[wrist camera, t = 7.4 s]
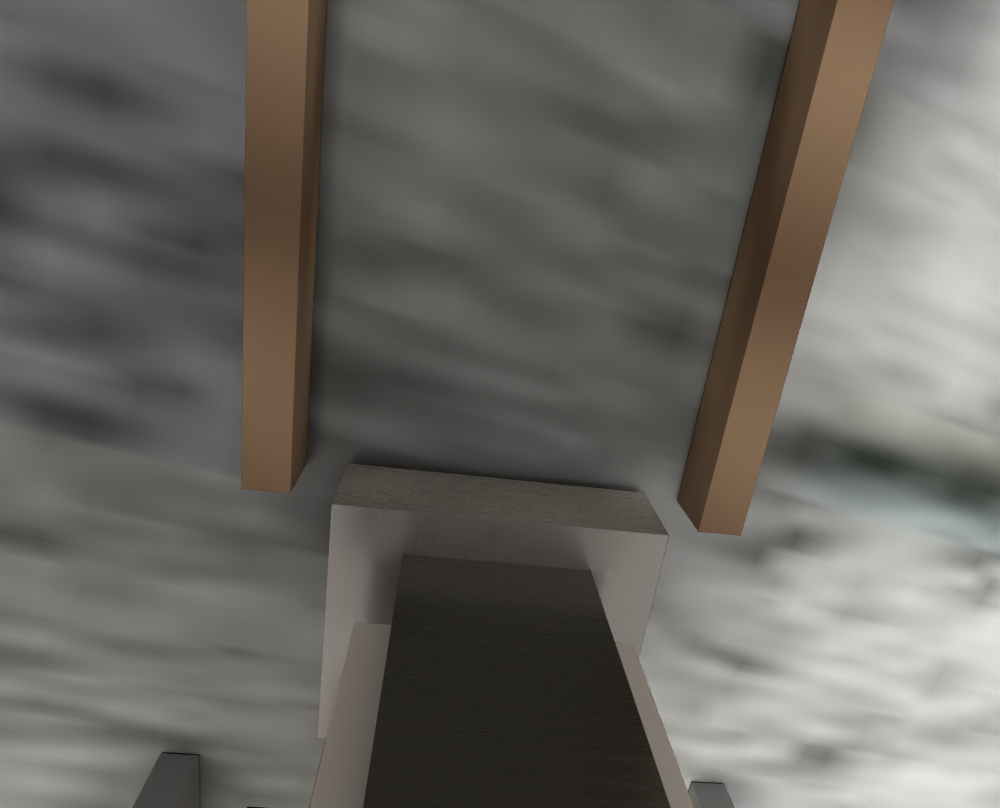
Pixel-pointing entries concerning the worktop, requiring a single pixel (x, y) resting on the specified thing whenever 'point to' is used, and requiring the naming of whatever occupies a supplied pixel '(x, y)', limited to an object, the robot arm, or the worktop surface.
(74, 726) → the worktop surface
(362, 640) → the robot arm
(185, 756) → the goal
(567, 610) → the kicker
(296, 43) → the rail
